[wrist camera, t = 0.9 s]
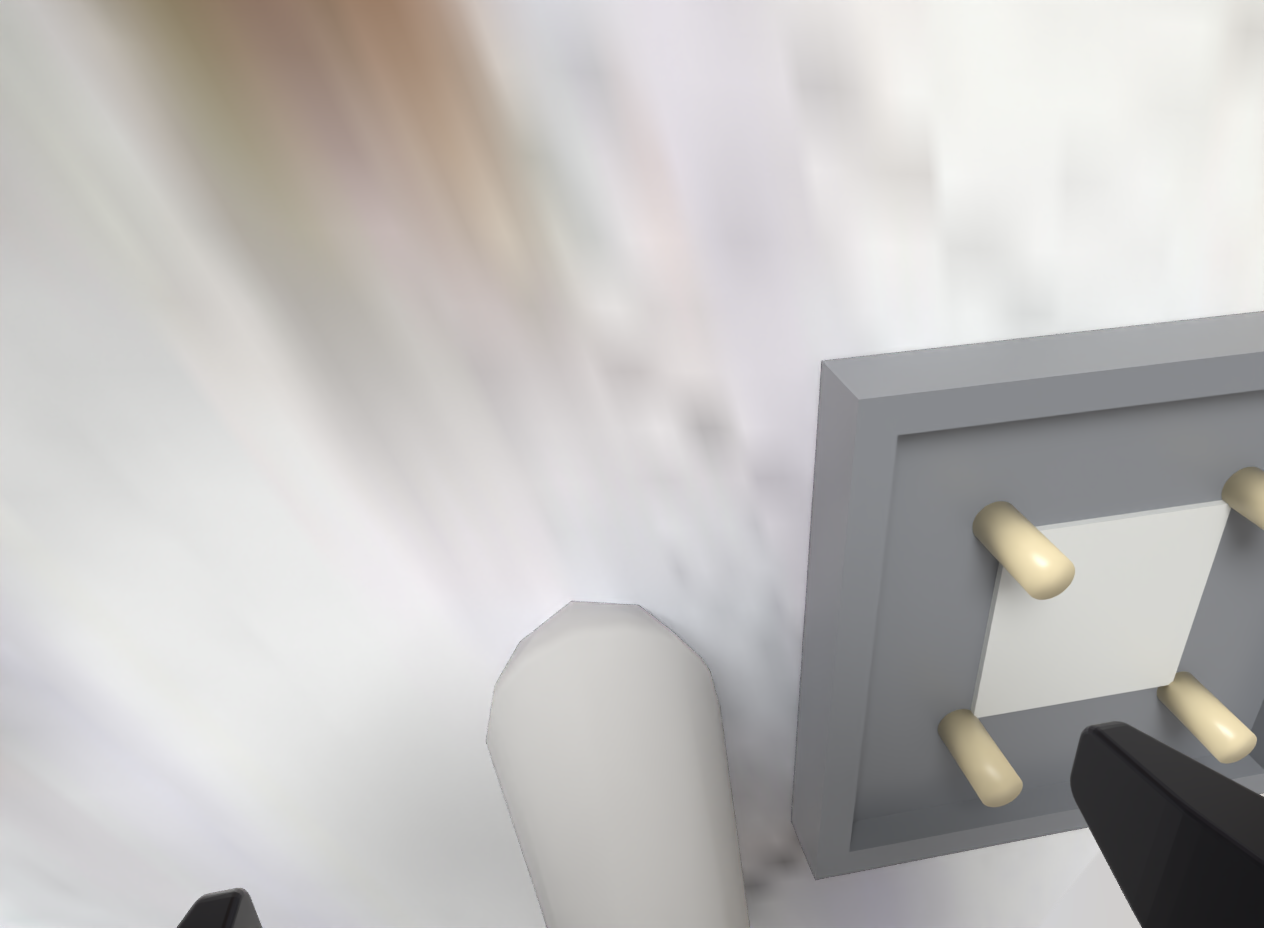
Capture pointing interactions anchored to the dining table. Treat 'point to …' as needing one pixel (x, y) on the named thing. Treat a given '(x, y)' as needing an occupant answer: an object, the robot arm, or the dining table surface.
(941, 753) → the pin tray
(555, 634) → the salt shaker
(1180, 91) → the dining table surface
